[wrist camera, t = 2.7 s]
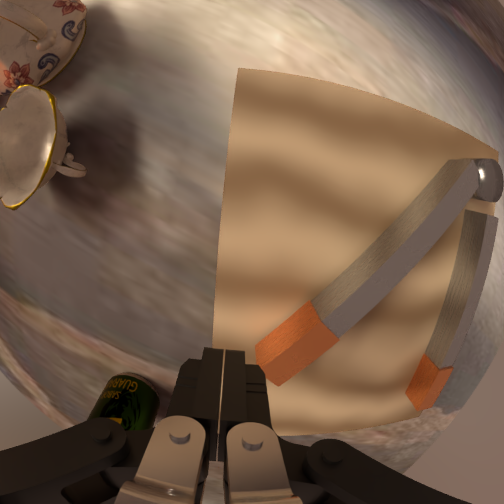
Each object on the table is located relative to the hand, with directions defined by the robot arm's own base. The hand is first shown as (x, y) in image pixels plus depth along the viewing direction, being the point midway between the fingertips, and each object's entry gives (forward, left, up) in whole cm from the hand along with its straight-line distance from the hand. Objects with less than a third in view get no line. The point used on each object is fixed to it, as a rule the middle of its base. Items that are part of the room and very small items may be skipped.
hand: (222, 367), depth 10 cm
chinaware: (-17, -21, -10) cm, 29 cm away
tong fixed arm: (+2, +19, -8) cm, 21 cm away
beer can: (+13, -8, -10) cm, 18 cm away
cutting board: (+1, +11, -10) cm, 15 cm away
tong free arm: (-3, +11, -8) cm, 14 cm away
